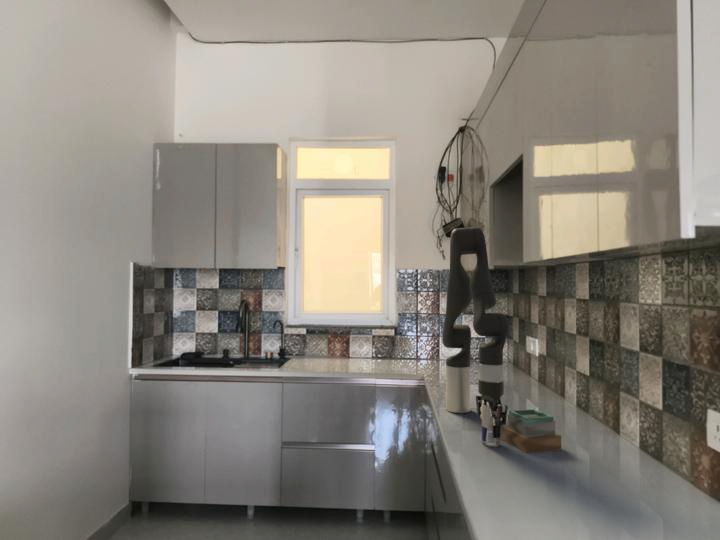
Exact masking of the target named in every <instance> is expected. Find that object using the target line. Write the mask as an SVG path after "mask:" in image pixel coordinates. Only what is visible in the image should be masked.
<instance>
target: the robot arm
mask: <svg viewBox="0 0 720 540" xmlns="http://www.w3.org/2000/svg"><path fill="white" fill-rule="evenodd" d="M463 255H464V256H465V255H466V256H467V255H475V256H476V264H475V266H474V269H473V272H472V274H471V276H470V275H469V274H468V272H467V271H466V270H465V268H464V266H463V263H462V256H463ZM448 272H449V273H448V279H447V289H446V301H445V302H446V306H445V315H444V322H443V327H442V336H441V338H442V345H443V346H444V347H445V348H447V349H460V351H459V352H458V353H456V354H454V355H451V356H448V357H447V358H446V360H445V379H446V380H445V381H446V383H445V410H446V411H448V412H450V413H456V414H464V413H465V414H466V413H470V412H471V346H472V330H471V327H470V326H469V325H468V324H455V323H456V321H457V320H458V318H459V317H460V316H461V315H462V313H464V312H465V311H466V310H467V309H468V308H469V306H470V304H471V303H472V302H473V303H472V304H473V319H472V328H473V330H474V332H475V334H477V336H480V337H492V338H491V340H490V341H489V342H486V343H483V344H480V346H479V349H478V369H477V372H478V373H477V379H478V380H477V381H478V383H477V387H478V389H477V391H478V392H477V393H479V395H475V402H476V403H475V404H476V413H477V416H479V417H480V420H482V405H487V406H488V407H489V408H490V417H491V418H492V422H493V437H494V438H500V439H501V436H502V435H501V431H502V430H501V429H502V428H501V427H502V426H504V425H505V426H506V423H507V418H508V405H504V404H502V401H501V399H502V398H501V397H502V396H503V395H505V388H504V387H505V386H504V384H505V381H504V380H505V379H504V378H505V371H504V360H503V359H504V348H505V344H506V340H507V337H508V333H509V329H510V328H509V327H510V323H509V320H508V317H507V316H506V315H505V314H503V313H501V312H498V313H497V312H496V313H495V312H492V313H491V312H490V313H488V312H486V311H488V310H490V309H492V308H494V307H495V306H496V304H497V298H496V295H495V291H494V287H493V284H492V279H491V275H490V268H489V256H488V249H487V244H486V237H485V234H484V231H483V230H482V229H481V228H480V227H477V226H476V227H473V226H472V227H458V228H454V229H453V230H452V231H451V233H450V239H449V271H448ZM492 410H493V411H497V414H493V411H492ZM495 417H497V420H496V419H495Z"/></svg>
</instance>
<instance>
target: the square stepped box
mask: <svg viewBox="0 0 720 540" xmlns="http://www.w3.org/2000/svg"><path fill="white" fill-rule="evenodd" d="M508 413H509V414H508ZM508 413H507V425H505V426H504V425H502V426H501V427H502V428H501V429H502V430H501V431H502V435H501V436H502V440H503V441H505V442H506V443H508V444H510V445H512V446H514V447H516V448H517V449H518V450H521V451H522V452H525V453H526V454H530V453H531V454H532V453H540V452H547V451H548V452H550V451H557V450H562V435H561V434H558V433H556V420H554V416H552V415H550V414H547V413H545V412H542V411H540V410H537V409H535V408H528V409H515V410H509V412H508Z"/></svg>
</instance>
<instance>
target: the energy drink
mask: <svg viewBox="0 0 720 540" xmlns="http://www.w3.org/2000/svg"><path fill="white" fill-rule="evenodd" d="M492 411H493V410H492ZM493 414H497V411H493ZM495 419H496V420H497V417H495ZM481 444H482V445H484V446H486V447H489V448H497V447H499V446H501V437H500V438H494V437H493V422H492V418H491V417H490V408H489V407H488V406H487V405H482V419H481Z"/></svg>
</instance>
